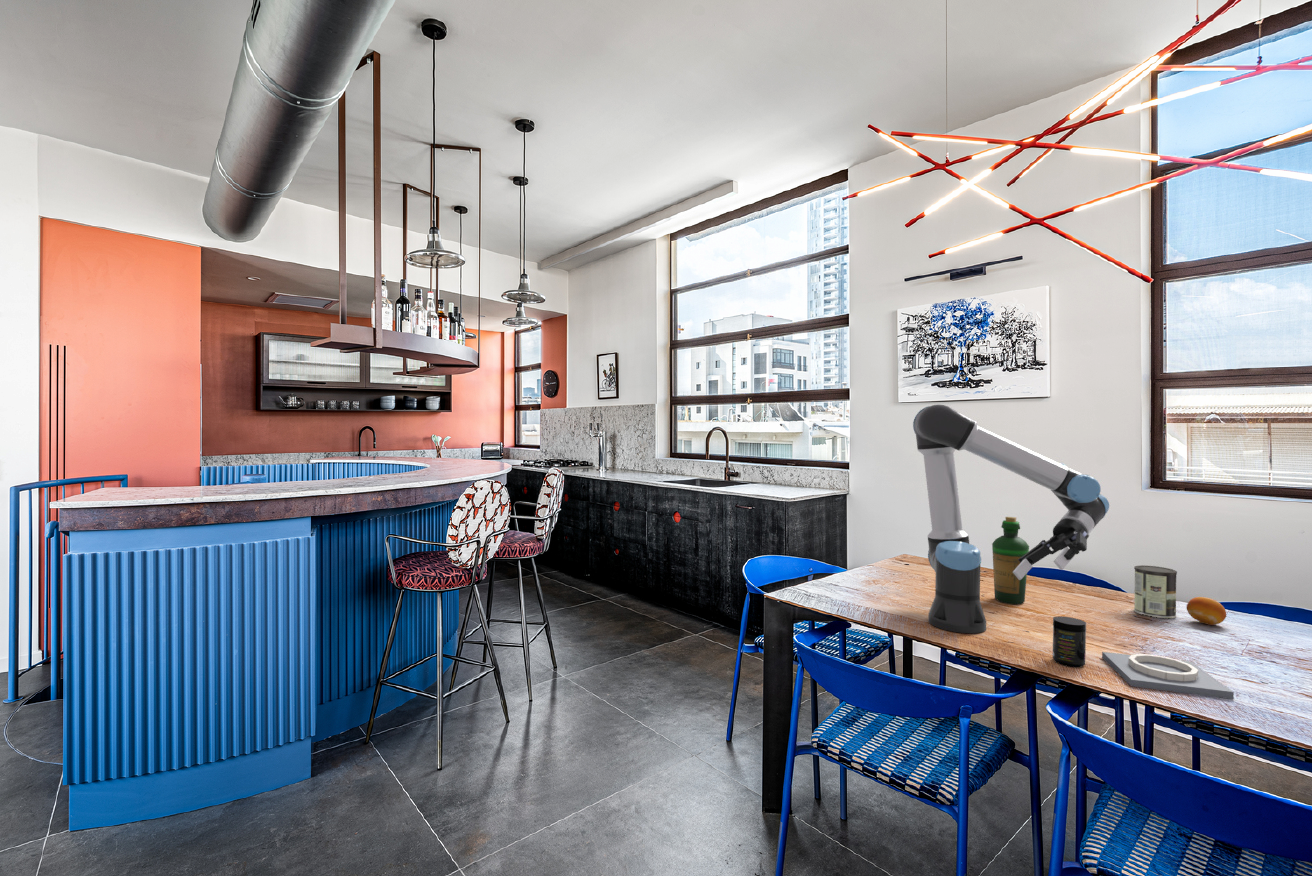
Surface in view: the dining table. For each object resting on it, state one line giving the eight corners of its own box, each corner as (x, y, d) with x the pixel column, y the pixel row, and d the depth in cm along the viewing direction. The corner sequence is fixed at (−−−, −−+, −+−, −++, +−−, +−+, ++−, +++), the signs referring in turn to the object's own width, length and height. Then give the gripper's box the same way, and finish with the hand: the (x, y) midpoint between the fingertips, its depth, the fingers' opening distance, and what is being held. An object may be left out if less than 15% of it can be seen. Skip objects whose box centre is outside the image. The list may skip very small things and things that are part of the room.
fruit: (1215, 621, 181) (1216, 594, 181) (1232, 630, 173) (1232, 602, 173) (1181, 618, 184) (1181, 592, 184) (1195, 627, 176) (1196, 599, 176)
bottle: (984, 597, 206) (985, 515, 205) (1013, 596, 207) (1015, 515, 206) (1004, 606, 195) (1006, 519, 195) (1036, 605, 196) (1037, 519, 196)
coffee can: (1163, 610, 193) (1163, 566, 192) (1184, 620, 182) (1185, 573, 182) (1126, 607, 195) (1127, 564, 194) (1145, 617, 185) (1146, 571, 184)
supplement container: (1089, 670, 143) (1089, 626, 143) (1055, 665, 146) (1056, 622, 146) (1081, 660, 149) (1082, 618, 149) (1049, 656, 152) (1050, 615, 152)
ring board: (1131, 686, 134) (1131, 672, 134) (1102, 657, 151) (1102, 645, 151) (1233, 699, 128) (1233, 685, 128) (1191, 667, 145) (1191, 655, 145)
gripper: (1123, 528, 161) (1088, 572, 151) (1045, 550, 182) (1010, 590, 173) (1103, 505, 162) (1066, 548, 153) (1028, 529, 184) (992, 568, 174)
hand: (1036, 570), depth 163 cm, fingers open, 13 cm apart
